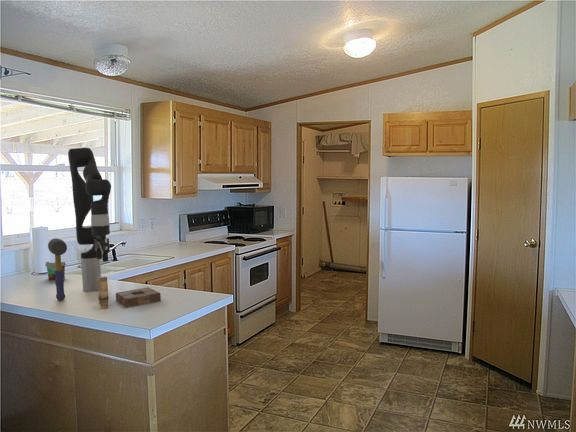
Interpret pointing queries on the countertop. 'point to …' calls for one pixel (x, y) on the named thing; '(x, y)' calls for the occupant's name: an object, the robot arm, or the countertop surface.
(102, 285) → the oak peg
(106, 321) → the countertop surface
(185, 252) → the countertop surface
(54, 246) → the rubber mallet
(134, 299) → the walnut board
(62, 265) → the food container
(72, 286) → the countertop surface
